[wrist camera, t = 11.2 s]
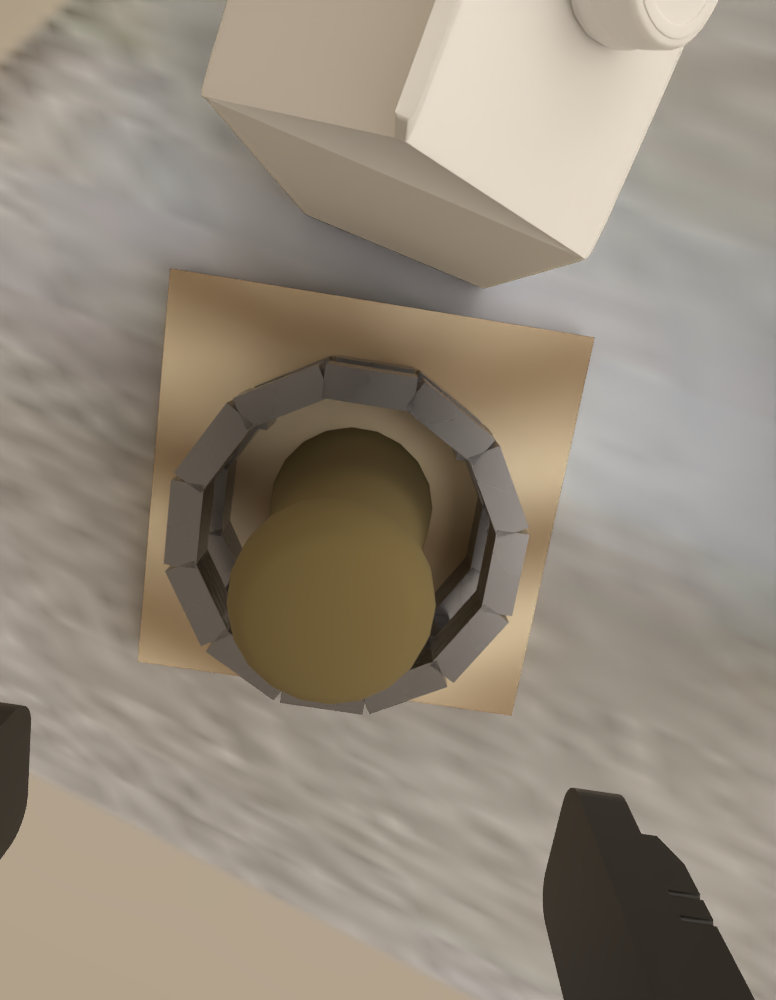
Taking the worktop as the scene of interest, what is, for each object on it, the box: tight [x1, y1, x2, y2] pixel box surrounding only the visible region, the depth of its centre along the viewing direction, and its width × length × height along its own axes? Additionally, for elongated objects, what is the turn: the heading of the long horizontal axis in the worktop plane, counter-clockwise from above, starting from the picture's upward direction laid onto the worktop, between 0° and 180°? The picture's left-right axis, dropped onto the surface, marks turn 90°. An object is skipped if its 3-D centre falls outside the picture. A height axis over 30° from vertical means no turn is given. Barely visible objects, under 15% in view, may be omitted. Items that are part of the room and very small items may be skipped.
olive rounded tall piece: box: [227, 427, 436, 704], centre depth 22 cm, size 6×6×11 cm
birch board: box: [138, 269, 595, 716], centre depth 28 cm, size 15×15×2 cm
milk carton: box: [201, 0, 718, 288], centre depth 17 cm, size 7×7×19 cm
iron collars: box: [164, 355, 529, 714], centre depth 25 cm, size 11×11×5 cm
